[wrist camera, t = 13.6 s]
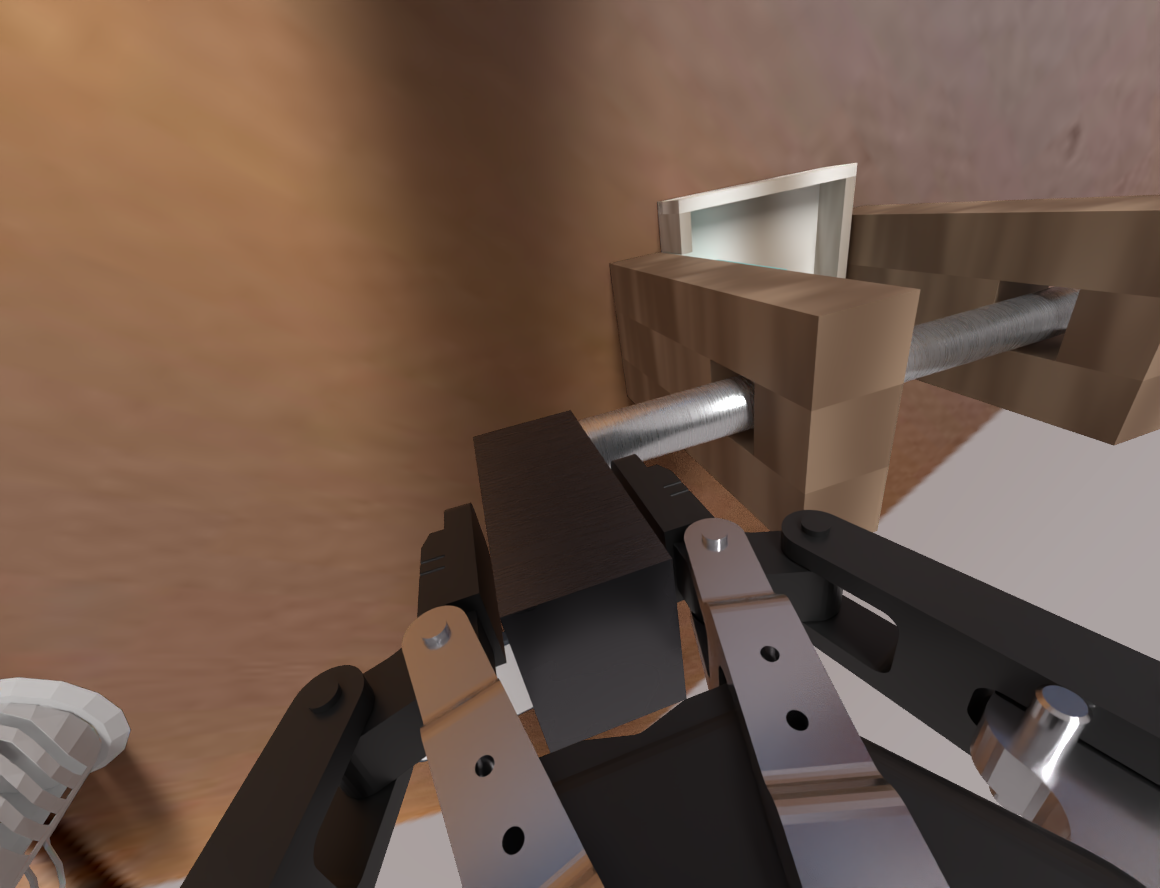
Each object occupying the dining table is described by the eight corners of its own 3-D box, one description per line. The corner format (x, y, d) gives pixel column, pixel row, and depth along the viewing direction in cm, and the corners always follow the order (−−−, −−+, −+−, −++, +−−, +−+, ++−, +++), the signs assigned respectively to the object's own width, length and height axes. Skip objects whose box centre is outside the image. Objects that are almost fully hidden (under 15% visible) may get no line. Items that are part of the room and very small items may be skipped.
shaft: (500, 508, 17) (550, 753, 9) (469, 411, 15) (499, 617, 7) (1040, 343, 21) (1397, 416, 13) (1071, 251, 19) (1508, 272, 11)
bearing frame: (631, 430, 30) (795, 610, 16) (602, 213, 24) (827, 202, 10) (846, 368, 33) (1146, 477, 19) (870, 157, 26) (1344, 87, 13)
